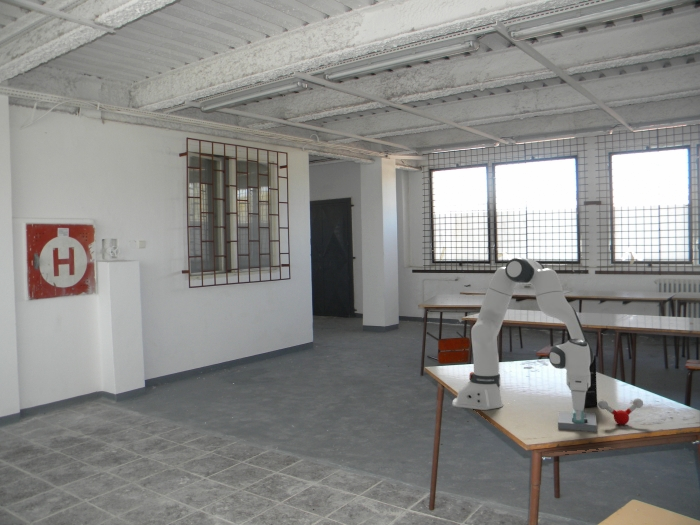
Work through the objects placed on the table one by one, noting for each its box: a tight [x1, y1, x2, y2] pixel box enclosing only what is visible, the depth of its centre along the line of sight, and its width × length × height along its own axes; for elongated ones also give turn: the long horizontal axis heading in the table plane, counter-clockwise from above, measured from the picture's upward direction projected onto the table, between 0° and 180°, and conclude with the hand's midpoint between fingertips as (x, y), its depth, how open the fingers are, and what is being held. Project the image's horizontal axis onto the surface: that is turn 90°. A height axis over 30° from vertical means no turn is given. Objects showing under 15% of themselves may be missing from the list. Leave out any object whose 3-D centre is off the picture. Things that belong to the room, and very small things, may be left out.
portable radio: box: [584, 354, 598, 409], centre depth 259 cm, size 8×6×25 cm
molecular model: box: [597, 398, 644, 426], centre depth 233 cm, size 18×6×10 cm, turn 89°
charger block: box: [572, 409, 585, 423], centre depth 231 cm, size 4×4×6 cm
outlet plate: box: [557, 410, 598, 433], centre depth 235 cm, size 14×16×3 cm
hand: (578, 416), depth 231 cm, fingers open, 8 cm apart
